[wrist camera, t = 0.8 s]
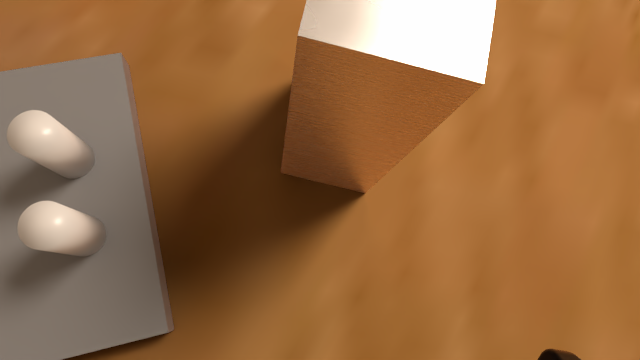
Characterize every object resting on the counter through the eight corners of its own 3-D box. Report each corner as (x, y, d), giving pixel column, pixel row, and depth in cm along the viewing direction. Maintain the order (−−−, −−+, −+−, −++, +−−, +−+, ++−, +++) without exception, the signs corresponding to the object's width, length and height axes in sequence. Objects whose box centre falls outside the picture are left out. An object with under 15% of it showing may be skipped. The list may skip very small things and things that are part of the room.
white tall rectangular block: (365, 193, 21) (484, 83, 10) (280, 172, 21) (297, 35, 9) (384, 94, 23) (511, -108, 11) (304, 74, 22) (346, -155, 11)
